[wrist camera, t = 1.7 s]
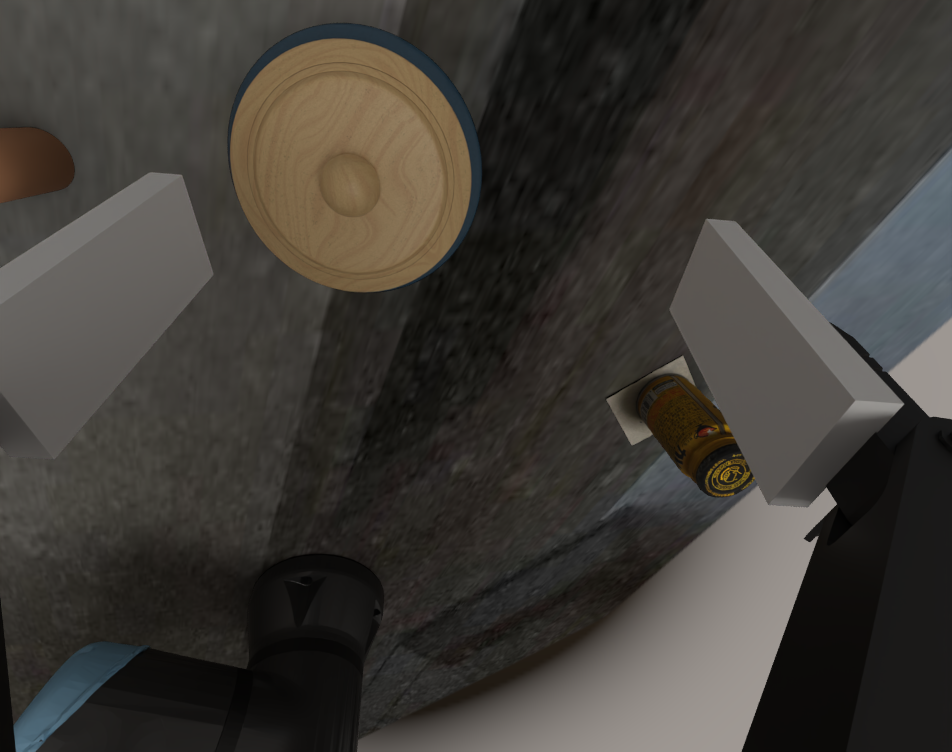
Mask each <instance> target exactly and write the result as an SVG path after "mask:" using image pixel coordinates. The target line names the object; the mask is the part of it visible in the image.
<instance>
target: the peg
mask: <svg viewBox="0 0 952 752" xmlns="http://www.w3.org/2000/svg"><path fill="white" fill-rule="evenodd" d="M74 172H75V171H74V163H73V160H72V157H71V155H70V153H69V152H68V150H67V149H66V147H65V146H64V145H63V144H62V143H61V142H60V141H59V140H58V139H57V138H55V137H54V136H53V135H51V134H49V133H48V132H46V131H43V130H41V129H37V128H32V127H22V128H0V203H3V202H8V201H12V200H17V199H21V198H26V197H30V196H35V195H39V194H44V193H48V192H53V191H57V190H61V189H64V188H65V187H67V186H68V185H69V184H70V183H71V182H72V180H73V177H74Z"/></svg>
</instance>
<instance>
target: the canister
mask: <svg viewBox="0 0 952 752" xmlns="http://www.w3.org/2000/svg"><path fill="white" fill-rule="evenodd" d="M227 143H228V161H229V167H230V173H231V177H232V182H233V185H234V188H235V191H236V194H237V197H238V199H239V202H240V204H241V206H242V209H243V211H244V213H245V215H246V217H247V219H248V221H249V222H250V224H251V226H252V227H253V229H254V230H255V232H256V233H257V235H258V236H259V237H260V239H261V240H262V241H263V243H264V244H265V245H266V246H267V247H268V248H269V249H270V250H271V251H272V252H273V253H274V254H275V255H276V256H277V257H278V258H279V259H280V260H281V261H282V262H283V263H285V264H286V265H287V266H289V267H290V268H291V269H293V270H294V271H296V272H297V273H299V274H301V275H303V276H304V277H306V278H308V279H310V280H312V281H314V282H317V283H319V284H322V285H325V286H328V287H331V288H335V289H339V290H344V291H351V292H360V293H375V292H385V291H391V290H395V289H399V288H403V287H405V286H408V285H411V284H413V283H415V282H418V281H420V280H421V279H423V278H425V277H427V276H428V275H430V274H431V273H433V272H434V271H436V270H437V269H438V268H439V267H441V266H442V265H443V264H444V263H445V262H446V261H447V260H448V259H449V258H450V257H451V256H452V255H453V254H454V252H455V251H456V250H457V249H458V247H459V246H460V244H461V243H462V241H463V240H464V238H465V236H466V235H467V233H468V231H469V229H470V227H471V224H472V222H473V219H474V217H475V214H476V211H477V207H478V203H479V199H480V193H481V185H482V159H481V151H480V145H479V140H478V136H477V132H476V129H475V125H474V123H473V120H472V117H471V115H470V112H469V110H468V108H467V106H466V104H465V102H464V100H463V98H462V97H461V95H460V93H459V92H458V90H457V89H456V87H455V85H454V84H453V83H452V81H451V80H450V79H449V77H448V76H447V75H446V74H445V73H444V72H443V70H442V69H441V68H440V67H439V66H438V65H437V64H436V63H435V62H434V61H433V60H432V59H431V58H429V57H428V56H427V55H426V54H425V53H423V52H422V51H421V50H419V49H418V48H417V47H415V46H414V45H412V44H411V43H409V42H407V41H406V40H404V39H402V38H400V37H398V36H396V35H394V34H392V33H389V32H387V31H384V30H381V29H378V28H374V27H371V26H366V25H361V24H353V23H330V24H322V25H317V26H313V27H309V28H306V29H303V30H300V31H298V32H295V33H293V34H291V35H289V36H287V37H286V38H284V39H282V40H281V41H279V42H278V43H276V44H275V45H273V46H272V47H271V48H270V49H269V50H267V51H266V52H265V53H264V54H263V55H262V56H261V57H260V58H259V59H258V60H257V62H256V63H255V64H254V65H253V66H252V68H251V69H250V71H249V72H248V74H247V75H246V77H245V78H244V80H243V82H242V84H241V86H240V88H239V90H238V93H237V95H236V98H235V101H234V104H233V107H232V111H231V115H230V120H229V127H228V139H227Z"/></svg>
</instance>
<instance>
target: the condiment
mask: <svg viewBox="0 0 952 752" xmlns="http://www.w3.org/2000/svg"><path fill="white" fill-rule="evenodd" d="M637 391H638V392H637ZM606 400H607V402H608V404H609V405H610V407H611V409H612V411H613V413H614V414H615V416H616V418H617V420H618V422H619V423H620V425H621V427H622V429H623V430H624V432H625V434H626V436H627V438H628V439H629V441H630V443H631V445H634V444H636V443H638V442H640V441H642V440H643V439H645V438H648V437H650V436H651V435H654V437H655V438H656V439H657V440H658V442H659V443H660V444H661V445H662V447H663V448H664V449H665V451H666V452H667V453H668V455H669V456H670V458H671V459H672V460H673V461H674V463H675V464H676V465H677V467H678V468H679V469H680V470H681V472H682V473H684V474H685V475H686V476H688V477H690V478H691V479H692V480H693V481H694V482H695V483H696V484H697V485H698V487H699V489H700V490H702V491H703V492H704V493H705V494H707V495H709V496H712V497H728V496H732V495H735V494H737V493H739V492H741V491H742V490H744V489H745V488H747V487H748V486H749V485H750V484H751V483H752V482H753V481H754V480H755V478H754V476H753V474H752V472H751V470H750V468H749V466H748V464H747V462H746V460H745V458H744V456H743V454H742V452H741V450H740V448H739V446H738V444H737V442H736V440H735V438H734V436H733V434H732V432H731V430H730V428H729V426H728V424H727V423H726V421H725V419H724V417H723V415H722V413H721V412H720V410H719V409H717V407H716V406H715V405H713V403H712V402H711V401H710V400H709V399H707V398H706V397H705V396H704V395H703V394H702V393H701V391H700V390H698V389H697V388H696V386H695V384H694V381H693V379H692V376H691V374H690V372H689V369H688V366H687V364H686V361H685V359H684V357H683V356H682V357H680V358H678V359H676V360H674V361H672V362H671V363H669V364H667V365H665V366H663V367H662V368H659V369H658V370H656V371H654V372H652V373H651V374H649V375H647V376H646V377H644V378H642V379H641V380H639V381H638V382H636V383H634V384H632V385H630V386H629V387H626V388H625V389H623V390H621V391H620V392H618V393H617V394H615V395H613V396H611V397H610V398H608V399H606ZM640 421H642V423H640Z"/></svg>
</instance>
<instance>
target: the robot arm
mask: <svg viewBox="0 0 952 752" xmlns="http://www.w3.org/2000/svg"><path fill="white" fill-rule="evenodd" d="M213 275H214V274H213V270H212V267H211V264H210V261H209V258H208V255H207V252H206V249H205V245H204V242H203V239H202V236H201V233H200V230H199V227H198V223H197V220H196V217H195V214H194V211H193V208H192V205H191V202H190V198H189V195H188V192H187V189H186V186H185V183H184V180H183V176H182V175H178V174H166V173H154V172H150V173H148V174H146V175H145V176H143V177H142V178H140V179H139V180H137V181H136V182H134V183H132V184H131V185H129V186H128V187H126V188H125V189H123V190H121V191H120V192H118V193H117V194H115V195H114V196H112V197H111V198H109V199H107V200H106V201H104V202H103V203H101V204H100V205H98V206H96V207H95V208H93V209H92V210H90V211H89V212H87V213H86V214H84V215H82V216H81V217H79V218H78V219H76V220H75V221H73V222H72V223H70V224H68V225H67V226H65V227H64V228H62V229H61V230H59V231H57V232H56V233H54V234H53V235H51V236H50V237H48V238H47V239H45V240H43V241H42V242H40V243H39V244H37V245H36V246H34V247H32V248H31V249H29V250H28V251H26V252H25V253H23V254H22V255H20V256H18V257H17V258H15V259H14V260H12V261H11V262H9V263H8V264H6V265H4V266H3V267H1V268H0V446H1V447H2V448H3V449H4V450H5V452H6V453H7V454H8V455H9V456H10V457H19V458H35V459H51V460H54V459H55V458H56V457H57V456H58V455H59V454H60V452H61V451H62V450H63V449H64V448H65V447H66V445H67V444H68V443H69V442H70V441H71V440H72V439H73V437H74V436H75V435H76V434H77V433H78V432H79V430H80V429H81V428H82V427H83V426H84V425H85V423H86V422H87V421H88V420H89V419H90V418H91V416H92V415H93V414H94V413H95V412H96V411H97V410H98V408H99V407H100V406H101V405H102V404H103V403H104V401H105V400H106V399H107V398H108V397H109V396H110V394H111V393H112V392H113V391H114V390H115V389H116V387H117V386H118V385H119V384H120V383H121V382H122V380H123V379H124V378H125V377H126V376H127V375H128V374H129V372H130V371H131V370H132V369H133V368H134V367H135V365H136V364H137V363H138V362H139V361H140V360H141V358H142V357H143V356H144V355H145V354H146V353H147V351H148V350H149V349H150V348H151V347H152V346H153V345H154V343H155V342H156V341H157V340H158V339H159V338H160V336H161V335H162V334H163V333H164V332H165V331H166V329H167V328H168V327H169V326H170V325H171V324H172V322H173V321H174V320H175V319H176V318H177V317H178V316H179V314H180V313H181V312H182V311H183V310H184V309H185V307H186V306H187V305H188V304H189V303H190V302H191V300H192V299H193V298H194V297H195V296H196V295H197V293H198V292H199V291H200V290H201V289H202V288H203V287H204V285H205V284H206V283H207V282H208V281H209V280H210V278H211V277H212V276H213ZM669 310H670V312H671V314H672V316H673V318H674V320H675V322H676V324H677V326H678V328H679V330H680V332H681V334H682V336H683V338H684V340H685V342H686V344H687V346H688V348H689V350H690V352H691V354H692V356H693V357H694V359H695V361H696V363H697V365H698V367H699V369H700V371H701V373H702V375H703V377H704V379H705V381H706V383H707V385H708V387H709V389H710V391H711V393H712V395H713V397H714V399H715V401H716V403H717V405H718V407H719V409H720V411H721V413H722V415H723V417H724V419H725V421H726V423H727V424H728V426H729V428H730V430H731V432H732V434H733V436H734V438H735V440H736V442H737V444H738V446H739V448H740V450H741V452H742V454H743V456H744V458H745V460H746V462H747V464H748V466H749V468H750V470H751V472H752V474H753V476H754V478H755V480H756V482H757V484H758V486H759V488H760V490H761V491H762V493H763V495H764V497H765V499H766V501H767V503H768V505H778V506H794V507H809V505H810V504H811V503H812V502H813V501H814V500H815V499H816V498H817V497H818V496H819V495H820V494H821V493H822V492H823V491H824V489H825V488H826V487H827V489H828V490H829V492H830V493H831V495H832V497H833V498H834V500H835V501H836V503H837V505H836V506H835V507H834V508H833V509H832V510H831V511H830V512H829V513H828V514H827V515H826V516H825V517H824V518H823V519H822V520H821V521H820V522H819V523H818V524H817V525H816V526H815V527H814V528H813V529H812V530H811V531H810V532H809V533H808V534H807V535H806V537H805V538H804V539H805V540H807V541H808V542H811V541H812V540H813V539H814V538H815V537H816V536H819V537H818V540H817V543H816V545H815V548H814V551H813V554H812V556H811V559H810V562H809V565H808V567H807V570H806V573H805V576H804V579H803V581H802V584H801V587H800V590H799V593H798V595H797V598H796V601H795V604H794V607H793V610H792V613H791V615H790V618H789V621H788V624H787V627H786V629H785V632H784V635H783V638H782V640H781V643H780V646H779V649H778V651H777V654H776V657H775V660H774V662H773V665H772V668H771V671H770V674H769V677H768V679H767V682H766V685H765V688H764V691H763V693H762V696H761V699H760V702H759V704H758V707H757V710H756V713H755V716H754V718H753V721H752V724H751V727H750V730H749V732H748V735H747V738H746V741H745V744H744V746H743V749H742V752H952V420H951V419H946V418H939V417H929V416H928V415H927V414H926V413H925V412H924V411H923V410H922V409H921V408H920V407H919V406H918V405H917V404H916V403H915V401H914V400H913V399H912V398H910V396H909V395H908V394H907V393H906V392H905V391H904V390H903V389H902V388H901V387H900V386H899V385H898V384H897V383H896V382H895V381H894V379H893V378H892V377H891V376H890V375H889V374H888V373H887V372H883V371H882V369H883V368H882V367H881V366H880V365H879V364H878V363H877V362H876V361H875V359H874V358H870V357H869V355H870V354H869V353H868V352H867V351H866V350H865V349H864V348H863V347H862V346H861V345H860V344H859V343H858V342H857V341H856V340H855V338H853V337H852V336H850V335H849V334H847V333H846V332H844V331H843V330H841V329H840V328H838V327H837V326H835V325H834V324H832V323H830V322H828V321H827V320H826V319H825V318H824V316H823V315H822V314H821V313H820V312H819V311H818V310H817V309H816V308H815V307H814V306H813V305H812V304H811V302H810V301H809V300H808V299H807V298H806V297H805V296H804V295H803V294H802V293H801V292H800V291H799V289H798V288H797V287H796V286H795V285H794V284H793V283H792V282H791V281H790V280H789V279H788V278H787V276H786V275H785V274H784V273H783V272H782V271H781V270H780V269H779V268H778V267H777V266H776V265H775V263H774V262H773V261H772V260H771V259H770V258H769V257H768V256H767V255H766V254H765V253H764V252H763V251H762V249H761V248H760V247H759V246H758V245H757V244H756V243H755V242H754V241H753V240H752V239H751V238H750V236H749V235H748V234H747V233H746V232H745V231H744V230H743V229H742V228H741V227H740V226H739V225H738V223H737V222H736V221H725V220H714V219H706V221H705V223H704V225H703V228H702V230H701V233H700V235H699V238H698V240H697V243H696V245H695V248H694V250H693V252H692V255H691V257H690V260H689V262H688V265H687V267H686V270H685V272H684V275H683V277H682V280H681V282H680V284H679V287H678V289H677V292H676V294H675V297H674V299H673V302H672V304H671V307H670V309H669ZM383 605H384V592H383V588H382V585H381V583H380V581H379V580H378V579H377V577H376V576H375V575H374V574H373V573H372V572H371V571H370V570H368V569H367V568H365V567H364V566H362V565H360V564H358V563H356V562H354V561H351V560H348V559H345V558H341V557H336V556H329V555H309V556H301V557H296V558H292V559H289V560H286V561H283V562H281V563H279V564H277V565H275V566H273V567H272V568H270V569H269V570H267V571H266V572H265V573H264V574H263V575H262V576H261V577H260V578H259V579H258V581H257V582H256V584H255V586H254V589H253V592H252V595H251V598H250V601H249V605H248V611H247V619H248V642H249V662H248V666H247V669H242V668H237V667H234V666H229V665H225V664H220V663H215V662H210V661H205V660H201V659H196V658H191V657H186V656H181V655H177V654H173V653H168V652H164V651H160V650H155V649H151V647H150V646H147V645H143V646H133V645H126V644H119V643H113V642H106V641H103V642H96V643H92V644H89V645H87V646H85V647H83V648H82V649H80V650H79V651H77V652H76V653H75V654H73V655H72V656H71V657H70V658H69V659H68V660H67V661H66V662H65V663H64V664H63V665H62V666H61V667H60V668H59V669H58V670H57V672H56V673H55V674H54V675H53V676H52V677H51V678H50V680H49V681H48V682H47V683H46V684H45V686H44V687H43V688H42V689H41V691H40V692H39V693H38V694H37V695H36V697H35V698H34V699H33V701H32V702H31V703H30V704H29V706H28V707H27V708H26V710H25V711H24V712H23V714H22V715H21V716H20V717H19V719H18V720H17V721H16V723H15V724H14V726H13V717H12V707H11V697H10V688H9V678H8V668H7V658H6V649H5V639H4V629H3V620H2V610H1V600H0V752H357V745H358V732H359V718H360V705H361V691H362V678H363V667H364V662H365V660H366V657H367V655H368V652H369V650H370V648H371V645H372V643H373V640H374V638H375V635H376V633H377V631H378V628H379V626H380V623H381V620H382V616H383Z"/></svg>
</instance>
